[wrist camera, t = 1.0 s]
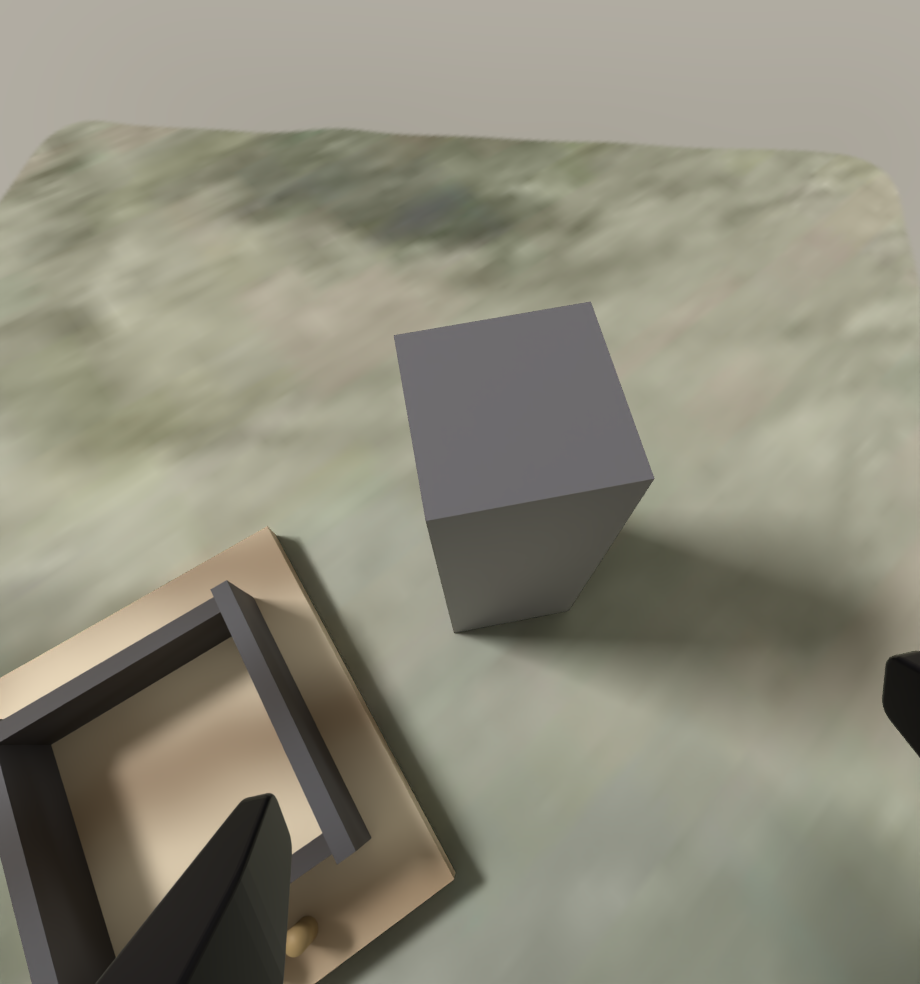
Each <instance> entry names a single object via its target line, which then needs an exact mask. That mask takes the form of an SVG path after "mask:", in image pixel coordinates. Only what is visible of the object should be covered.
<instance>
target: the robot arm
mask: <svg viewBox="0 0 920 984" xmlns="http://www.w3.org/2000/svg"><path fill="white" fill-rule="evenodd" d="M882 703H883V708H884V710H885V713H886V715H887V716H888V718H889V719H890V721H891V722H892V723H893V725H894V726H895V727H896V728H897V730H898V731H899V732H900V733H901V735H902V736H903V737H904V738H905V740H906V741H907V742H908V743H909V745H910V746H911V747H912V748H913V750H914V751H915V752H916V753H917V755H918V756H919V757H920V651H912V652H907V653H903V654H898V655H894V656H892V657H890V658H889V659H888V660H887V662H886V666H885V675H884V685H883V695H882ZM291 861H292V843H291V837H290V833H289V830H288V827H287V825H286V822H285V819H284V817H283V814H282V811H281V808H280V806H279V803H278V800H277V798H276V797H275V795H274V794H272V793H265V794H261V795H256V796H252V797H247V798H245V799H243V800H242V801H241V802H240V803H239V804H238V805H237V806H236V807H235V809H234V810H233V811H232V813H231V814H230V815H229V816H228V818H227V819H226V820H225V821H224V823H223V824H222V825H221V826H220V828H219V829H218V830H217V831H216V833H215V834H214V835H213V836H212V838H211V839H210V840H209V841H208V843H207V844H206V845H205V846H204V848H203V849H202V850H201V851H200V853H199V854H198V855H197V856H196V858H195V859H194V860H193V861H192V863H191V864H190V865H189V866H188V868H187V869H186V870H185V871H184V873H183V874H182V875H181V877H180V878H179V879H178V880H177V882H176V883H175V884H174V885H173V887H172V888H171V889H170V890H169V892H168V893H167V894H166V895H165V897H164V898H163V899H162V900H161V902H160V903H159V904H158V905H157V907H156V908H155V909H154V910H153V912H152V913H151V914H150V915H149V917H148V918H147V919H146V920H145V922H144V923H143V924H142V925H141V927H140V928H139V929H138V930H137V932H136V933H135V934H134V936H133V937H132V938H131V939H130V941H129V942H128V943H127V944H126V946H125V947H124V948H123V949H122V951H121V952H120V953H119V954H118V956H117V957H116V958H115V959H114V961H113V962H112V963H111V964H110V966H109V967H108V968H107V969H106V971H105V972H104V973H103V974H102V976H101V977H100V978H99V979H98V981H97V982H96V983H95V984H283V981H284V970H285V958H286V942H287V926H288V909H289V893H290V877H291Z"/></svg>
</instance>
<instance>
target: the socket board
mask: <svg viewBox="0 0 920 984" xmlns="http://www.w3.org/2000/svg"><path fill="white" fill-rule="evenodd" d="M265 793H272V794H274V795H275V797H276V798H277V800H278V803H279V806H280V808H281V811H282V814H283V817H284V819H285V822H286V825H287V827H288V830H289V833H290V837H291V843H292V861H291V877H290V893H289V909H288V926H287V942H286V958H285V970H284V981H283V984H315V983H316V982H318V981H319V980H320V979H322V978H323V977H324V976H326V975H327V974H328V973H330V972H331V971H332V970H334V969H335V968H336V967H338V966H339V965H340V964H342V963H343V962H344V961H346V960H347V959H348V958H350V957H351V956H352V955H354V954H355V953H356V952H358V951H359V950H360V949H362V948H363V947H364V946H366V945H367V944H368V943H370V942H371V941H372V940H374V939H375V938H376V937H378V936H379V935H380V934H382V933H383V932H384V931H386V930H387V929H388V928H390V927H391V926H392V925H394V924H395V923H397V922H398V921H399V920H401V919H402V918H403V917H405V916H406V915H407V914H409V913H410V912H411V911H413V910H414V909H415V908H417V907H418V906H419V905H421V904H422V903H423V902H425V901H426V900H427V899H429V898H430V897H431V896H433V895H434V894H435V893H437V892H438V891H439V890H441V889H442V888H443V887H445V886H446V885H447V884H449V883H450V882H451V881H453V880H454V878H455V873H456V872H455V871H454V869H453V867H452V865H451V863H450V861H449V859H448V857H447V856H446V854H445V852H444V850H443V848H442V846H441V844H440V842H439V840H438V839H437V837H436V835H435V833H434V831H433V829H432V827H431V825H430V824H429V822H428V820H427V818H426V816H425V814H424V812H423V810H422V809H421V807H420V805H419V803H418V801H417V799H416V797H415V795H414V794H413V792H412V790H411V788H410V786H409V784H408V782H407V780H406V779H405V777H404V775H403V773H402V771H401V769H400V767H399V765H398V764H397V762H396V760H395V758H394V756H393V754H392V752H391V750H390V749H389V747H388V745H387V743H386V741H385V739H384V737H383V735H382V733H381V732H380V730H379V728H378V726H377V724H376V722H375V720H374V718H373V717H372V715H371V713H370V711H369V709H368V707H367V705H366V703H365V702H364V700H363V698H362V696H361V694H360V692H359V690H358V688H357V687H356V685H355V683H354V681H353V679H352V677H351V675H350V673H349V672H348V670H347V668H346V666H345V664H344V662H343V660H342V658H341V657H340V655H339V653H338V651H337V649H336V647H335V645H334V643H333V642H332V640H331V638H330V636H329V634H328V632H327V630H326V628H325V627H324V625H323V623H322V621H321V619H320V617H319V615H318V613H317V611H316V610H315V608H314V606H313V604H312V602H311V600H310V598H309V596H308V595H307V593H306V591H305V589H304V587H303V585H302V583H301V581H300V580H299V578H298V576H297V574H296V572H295V570H294V568H293V566H292V565H291V563H290V561H289V559H288V557H287V555H286V553H285V551H284V550H283V548H282V546H281V544H280V542H279V540H278V538H277V536H276V535H275V534H274V533H273V532H272V531H271V530H270V529H269V528H268V527H265V528H263V529H262V530H260V531H258V532H256V533H255V534H253V535H251V536H249V537H248V538H246V539H244V540H242V541H241V542H239V543H237V544H235V545H234V546H232V547H230V548H228V549H227V550H225V551H223V552H221V553H219V554H218V555H216V556H214V557H212V558H211V559H209V560H207V561H205V562H204V563H202V564H200V565H198V566H197V567H195V568H193V569H191V570H190V571H188V572H186V573H184V574H182V575H181V576H179V577H177V578H175V579H174V580H172V581H170V582H168V583H167V584H165V585H163V586H161V587H160V588H158V589H156V590H154V591H153V592H151V593H149V594H147V595H146V596H144V597H142V598H140V599H138V600H137V601H135V602H133V603H131V604H130V605H128V606H126V607H124V608H123V609H121V610H119V611H117V612H116V613H114V614H112V615H110V616H109V617H107V618H105V619H103V620H102V621H100V622H98V623H96V624H94V625H93V626H91V627H89V628H87V629H86V630H84V631H82V632H80V633H79V634H77V635H75V636H73V637H72V638H70V639H68V640H66V641H65V642H63V643H61V644H59V645H58V646H56V647H54V648H52V649H50V650H49V651H47V652H45V653H43V654H42V655H40V656H38V657H36V658H35V659H33V660H31V661H29V662H28V663H26V664H24V665H22V666H21V667H19V668H17V669H15V670H14V671H12V672H10V673H8V674H6V675H5V676H3V677H1V678H0V857H1V861H2V865H3V869H4V873H5V877H6V881H7V885H8V889H9V893H10V897H11V901H12V905H13V909H14V913H15V917H16V921H17V925H18V929H19V933H20V937H21V941H22V945H23V949H24V953H25V957H26V961H27V965H28V969H29V973H30V977H31V981H32V984H95V983H96V982H97V981H98V979H99V978H100V977H101V976H102V974H103V973H104V972H105V971H106V969H107V968H108V967H109V966H110V964H111V963H112V962H113V961H114V959H115V958H116V957H117V956H118V954H119V953H120V952H121V951H122V949H123V948H124V947H125V946H126V944H127V943H128V942H129V941H130V939H131V938H132V937H133V936H134V934H135V933H136V932H137V930H138V929H139V928H140V927H141V925H142V924H143V923H144V922H145V920H146V919H147V918H148V917H149V915H150V914H151V913H152V912H153V910H154V909H155V908H156V907H157V905H158V904H159V903H160V902H161V900H162V899H163V898H164V897H165V895H166V894H167V893H168V892H169V890H170V889H171V888H172V887H173V885H174V884H175V883H176V882H177V880H178V879H179V878H180V877H181V875H182V874H183V873H184V871H185V870H186V869H187V868H188V866H189V865H190V864H191V863H192V861H193V860H194V859H195V858H196V856H197V855H198V854H199V853H200V851H201V850H202V849H203V848H204V846H205V845H206V844H207V843H208V841H209V840H210V839H211V838H212V836H213V835H214V834H215V833H216V831H217V830H218V829H219V828H220V826H221V825H222V824H223V823H224V821H225V820H226V819H227V818H228V816H229V815H230V814H231V813H232V811H233V810H234V809H235V807H236V806H237V805H238V804H239V803H240V802H241V801H242V800H243V799H245V798H247V797H252V796H256V795H261V794H265Z"/></svg>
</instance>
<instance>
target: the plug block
mask: <svg viewBox="0 0 920 984" xmlns="http://www.w3.org/2000/svg"><path fill="white" fill-rule="evenodd" d="M394 340H395V345H396V351H397V357H398V363H399V369H400V374H401V380H402V386H403V392H404V398H405V403H406V409H407V415H408V421H409V427H410V432H411V438H412V444H413V450H414V456H415V462H416V467H417V473H418V479H419V485H420V491H421V496H422V502H423V508H424V514H425V520H426V524H427V528H428V532H429V536H430V540H431V544H432V548H433V552H434V556H435V560H436V564H437V568H438V572H439V576H440V580H441V584H442V588H443V591H444V595H445V599H446V603H447V607H448V611H449V615H450V619H451V623H452V627H453V631H454V633H457V632H462V631H467V630H472V629H477V628H482V627H488V626H493V625H498V624H503V623H508V622H513V621H518V620H524V619H529V618H534V617H539V616H544V615H549V614H555V613H560V612H565V611H569V609H570V608H571V606H572V605H573V603H574V602H575V600H576V599H577V597H578V595H579V594H580V592H581V591H582V589H583V588H584V586H585V585H586V583H587V582H588V580H589V579H590V577H591V575H592V574H593V572H594V571H595V569H596V568H597V566H598V565H599V563H600V562H601V560H602V559H603V557H604V555H605V554H606V552H607V551H608V549H609V548H610V546H611V545H612V543H613V542H614V540H615V538H616V537H617V535H618V534H619V532H620V531H621V529H622V528H623V526H624V525H625V523H626V522H627V520H628V518H629V517H630V515H631V514H632V512H633V511H634V509H635V508H636V506H637V505H638V503H639V502H640V500H641V498H642V497H643V495H644V494H645V492H646V491H647V489H648V488H649V486H650V485H651V483H652V482H653V480H654V476H653V473H652V471H651V468H650V465H649V462H648V459H647V457H646V454H645V451H644V448H643V446H642V443H641V440H640V437H639V434H638V432H637V429H636V426H635V423H634V421H633V418H632V415H631V412H630V409H629V407H628V404H627V401H626V398H625V396H624V393H623V390H622V387H621V384H620V382H619V379H618V376H617V373H616V371H615V368H614V365H613V362H612V359H611V357H610V354H609V351H608V348H607V346H606V343H605V340H604V337H603V334H602V332H601V329H600V326H599V323H598V321H597V318H596V315H595V312H594V309H593V307H592V304H591V302H586V303H580V304H574V305H568V306H562V307H557V308H551V309H545V310H539V311H533V312H527V313H522V314H516V315H510V316H504V317H498V318H492V319H487V320H481V321H475V322H469V323H463V324H457V325H452V326H446V327H440V328H434V329H428V330H422V331H417V332H411V333H405V334H399V335H394Z"/></svg>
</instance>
